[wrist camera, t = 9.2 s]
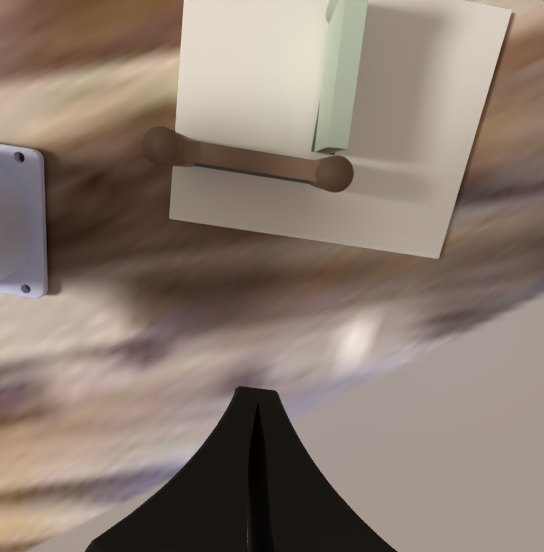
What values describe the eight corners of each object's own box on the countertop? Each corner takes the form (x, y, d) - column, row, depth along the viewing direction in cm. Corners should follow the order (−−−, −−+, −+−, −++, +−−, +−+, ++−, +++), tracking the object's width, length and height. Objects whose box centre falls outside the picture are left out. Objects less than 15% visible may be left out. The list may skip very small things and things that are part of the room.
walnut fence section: (172, 164, 18) (141, 162, 14) (174, 135, 18) (143, 123, 13) (329, 189, 18) (349, 195, 14) (334, 161, 18) (357, 158, 14)
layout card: (170, 218, 19) (168, 219, 19) (189, -49, 16) (187, -55, 15) (435, 257, 20) (439, 259, 20) (508, 12, 17) (513, 8, 16)
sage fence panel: (333, 153, 18) (353, 148, 14) (310, 151, 18) (323, 146, 14) (353, -1, 16) (383, -60, 12) (327, -4, 16) (348, -63, 12)
